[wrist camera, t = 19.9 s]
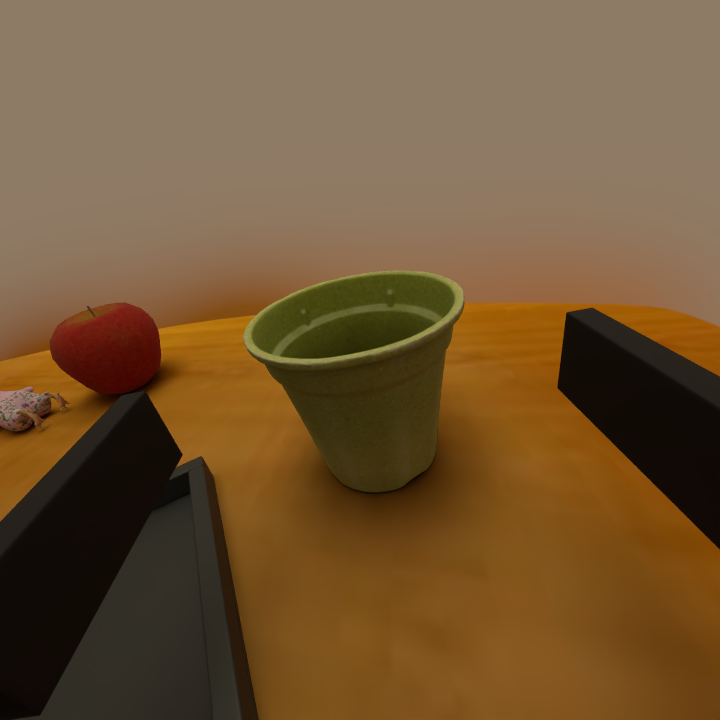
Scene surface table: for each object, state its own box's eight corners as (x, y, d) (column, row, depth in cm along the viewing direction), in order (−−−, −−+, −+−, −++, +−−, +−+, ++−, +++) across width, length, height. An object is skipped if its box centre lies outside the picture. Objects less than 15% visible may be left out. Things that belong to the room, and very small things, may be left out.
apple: (65, 409, 30) (5, 329, 26) (134, 363, 37) (93, 293, 33) (133, 410, 28) (79, 322, 24) (193, 360, 35) (158, 285, 31)
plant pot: (479, 533, 14) (476, 348, 10) (271, 522, 16) (196, 368, 12) (462, 396, 22) (456, 261, 18) (322, 402, 24) (288, 282, 20)
